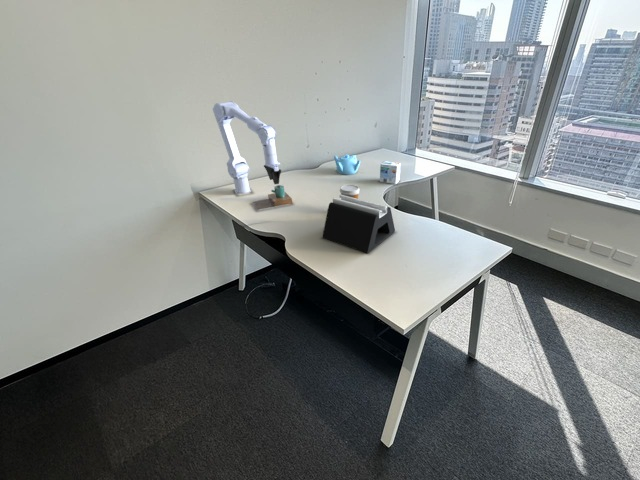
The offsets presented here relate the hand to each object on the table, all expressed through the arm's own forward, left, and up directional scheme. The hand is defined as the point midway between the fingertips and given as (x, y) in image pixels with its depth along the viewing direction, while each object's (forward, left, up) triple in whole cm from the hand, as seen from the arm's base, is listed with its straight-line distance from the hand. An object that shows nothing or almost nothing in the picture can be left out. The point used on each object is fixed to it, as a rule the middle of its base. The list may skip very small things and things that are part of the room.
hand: (274, 181), depth 164 cm
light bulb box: (+2, +69, -11) cm, 70 cm away
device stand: (+54, +19, -11) cm, 58 cm away
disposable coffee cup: (+30, +27, -11) cm, 42 cm away
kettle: (+2, +1, -7) cm, 8 cm away
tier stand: (+3, -4, -10) cm, 11 cm away
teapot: (-26, +54, -11) cm, 61 cm away
